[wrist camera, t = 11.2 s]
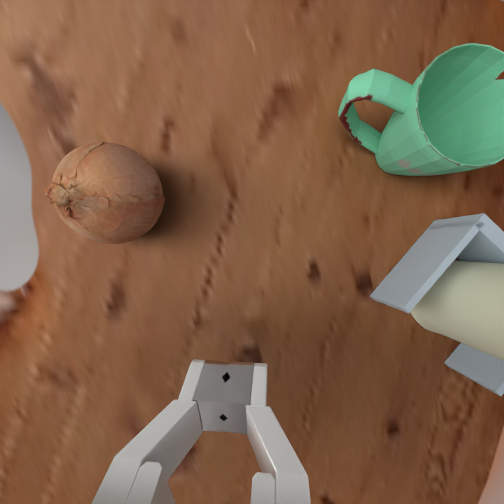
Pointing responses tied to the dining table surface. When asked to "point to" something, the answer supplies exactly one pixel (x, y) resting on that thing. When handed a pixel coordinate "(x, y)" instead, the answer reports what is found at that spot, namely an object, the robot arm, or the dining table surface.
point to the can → (467, 306)
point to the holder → (433, 266)
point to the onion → (107, 193)
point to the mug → (434, 114)
